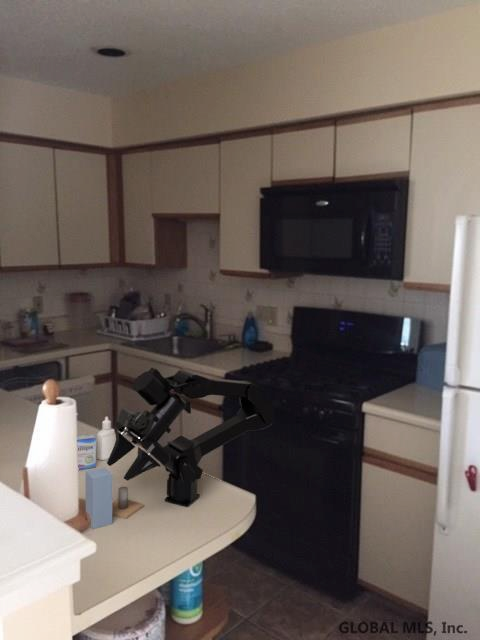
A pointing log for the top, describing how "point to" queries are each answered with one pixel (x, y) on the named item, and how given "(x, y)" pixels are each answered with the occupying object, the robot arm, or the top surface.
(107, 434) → the eye dropper bottle
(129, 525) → the top surface
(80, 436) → the medicine box
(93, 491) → the tall blue pillar
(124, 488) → the pen stand
